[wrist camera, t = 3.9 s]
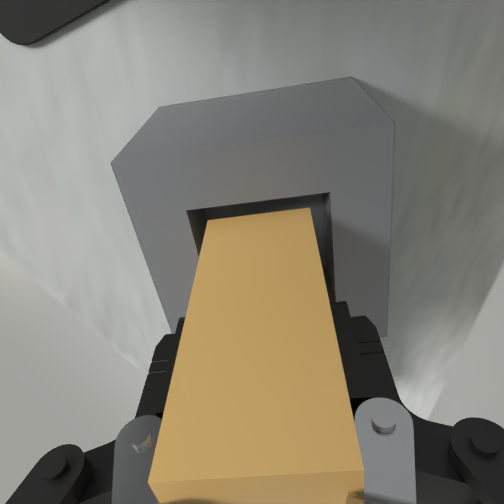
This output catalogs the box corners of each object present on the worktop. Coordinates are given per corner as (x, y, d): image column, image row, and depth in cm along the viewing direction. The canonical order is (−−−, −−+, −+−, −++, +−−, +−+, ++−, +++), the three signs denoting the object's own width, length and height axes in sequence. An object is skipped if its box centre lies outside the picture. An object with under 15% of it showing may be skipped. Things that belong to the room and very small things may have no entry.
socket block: (159, 106, 21) (110, 162, 15) (352, 77, 20) (395, 122, 14) (228, 364, 32) (219, 464, 25) (356, 353, 31) (381, 454, 24)
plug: (207, 220, 16) (147, 482, 8) (309, 207, 15) (364, 470, 7) (229, 310, 19) (203, 579, 10) (317, 301, 18) (364, 574, 10)
